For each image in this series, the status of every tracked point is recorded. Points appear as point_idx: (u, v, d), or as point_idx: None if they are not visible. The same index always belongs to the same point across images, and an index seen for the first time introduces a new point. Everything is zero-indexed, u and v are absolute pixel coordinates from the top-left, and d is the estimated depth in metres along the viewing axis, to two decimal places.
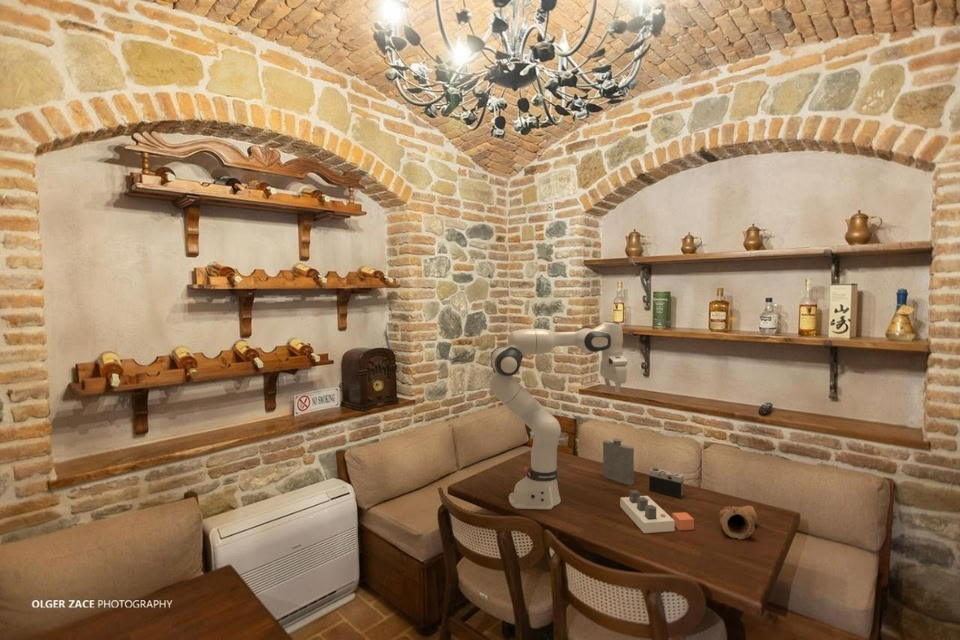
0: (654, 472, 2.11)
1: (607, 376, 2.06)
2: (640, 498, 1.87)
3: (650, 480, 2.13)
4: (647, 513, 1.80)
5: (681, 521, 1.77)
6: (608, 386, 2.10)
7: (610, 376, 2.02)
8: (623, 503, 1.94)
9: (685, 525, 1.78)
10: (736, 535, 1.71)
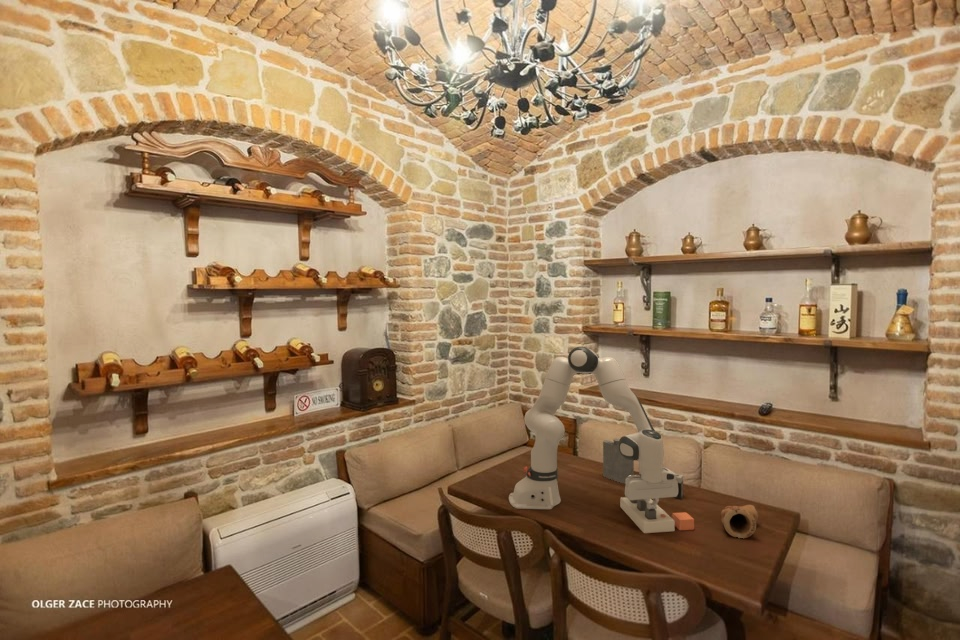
0: None
1: (651, 496, 1.78)
2: None
3: None
4: (647, 516, 1.80)
5: (681, 521, 1.77)
6: None
7: (660, 493, 1.78)
8: (623, 503, 1.94)
9: (685, 525, 1.78)
10: (738, 534, 1.71)
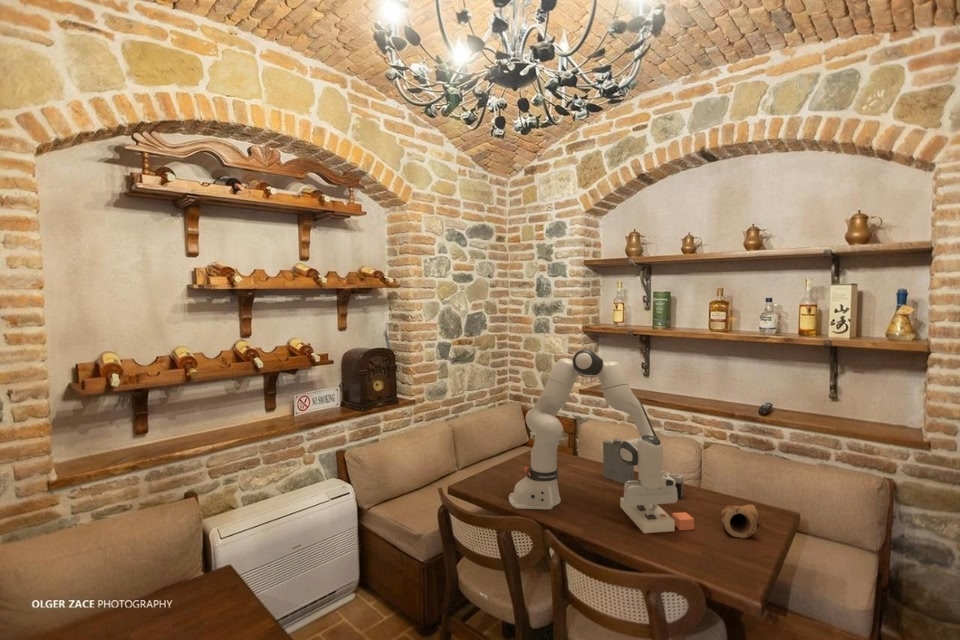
0: None
1: (650, 501, 1.78)
2: None
3: None
4: None
5: (681, 521, 1.77)
6: None
7: (659, 499, 1.78)
8: (623, 503, 1.94)
9: (685, 525, 1.78)
10: (738, 534, 1.71)
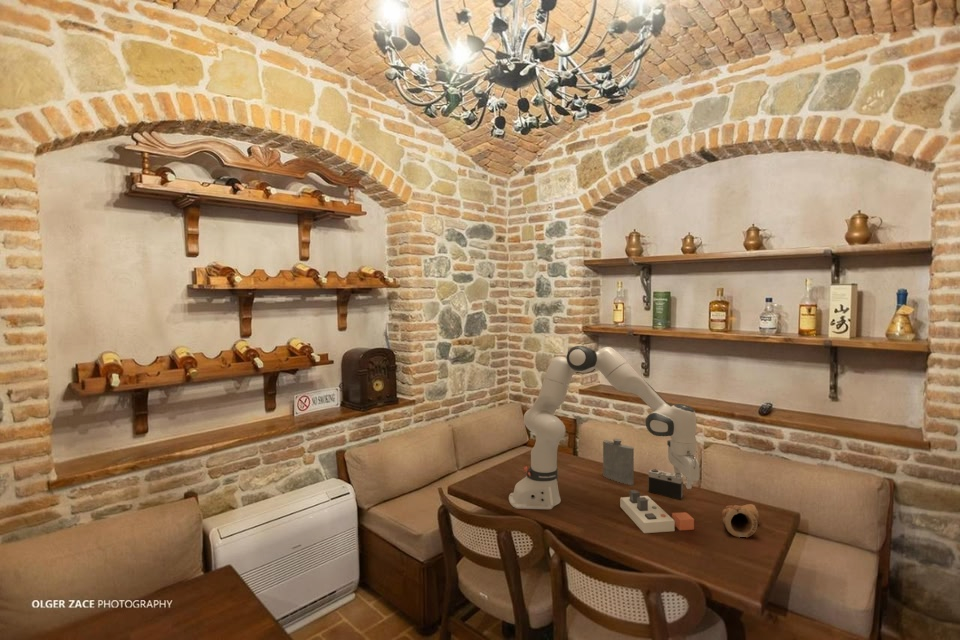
0: (654, 473, 2.10)
1: None
2: (640, 498, 1.87)
3: (650, 481, 2.11)
4: None
5: (681, 521, 1.77)
6: None
7: None
8: (623, 503, 1.94)
9: (685, 525, 1.78)
10: (739, 534, 1.72)
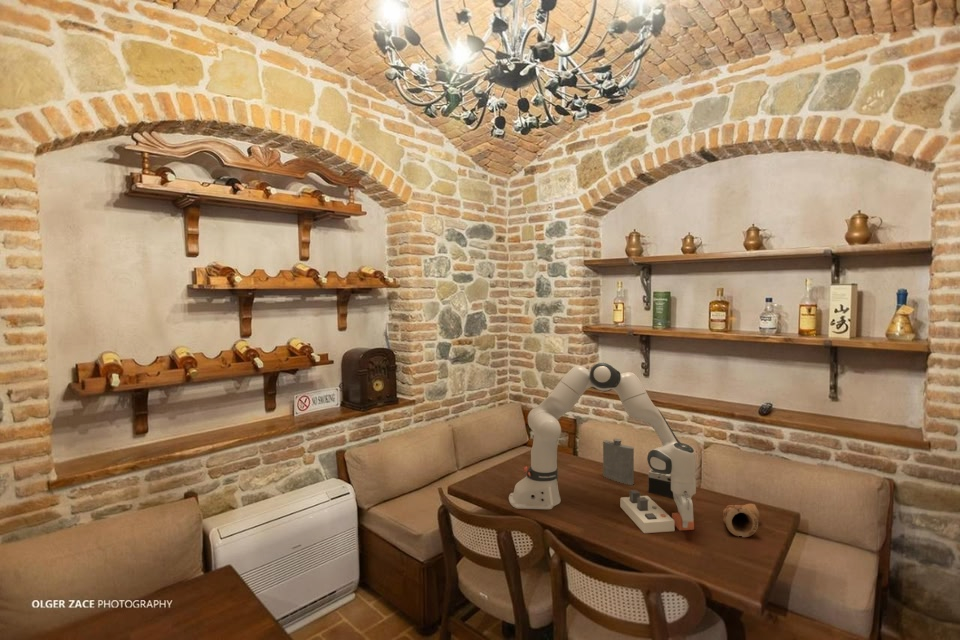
0: (654, 474, 2.10)
1: None
2: (640, 498, 1.87)
3: (649, 482, 2.11)
4: None
5: (681, 521, 1.77)
6: None
7: None
8: (623, 503, 1.94)
9: None
10: (740, 533, 1.72)
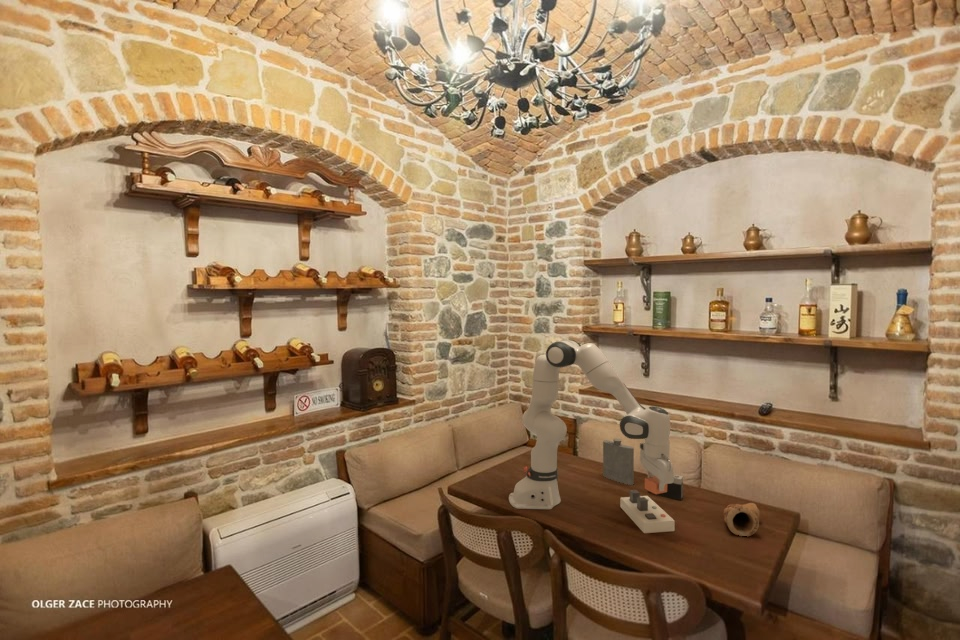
0: None
1: None
2: (640, 498, 1.87)
3: None
4: None
5: (657, 484, 1.76)
6: None
7: None
8: (623, 503, 1.94)
9: None
10: (741, 533, 1.72)
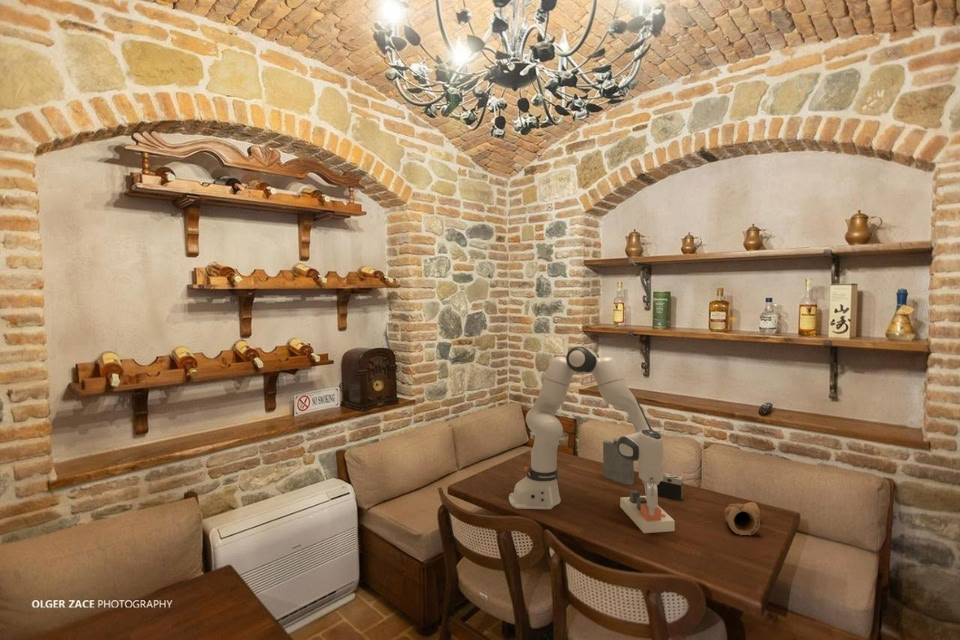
0: None
1: None
2: (640, 498, 1.87)
3: None
4: None
5: (648, 511, 1.77)
6: None
7: None
8: (623, 503, 1.94)
9: (652, 515, 1.77)
10: (742, 532, 1.73)
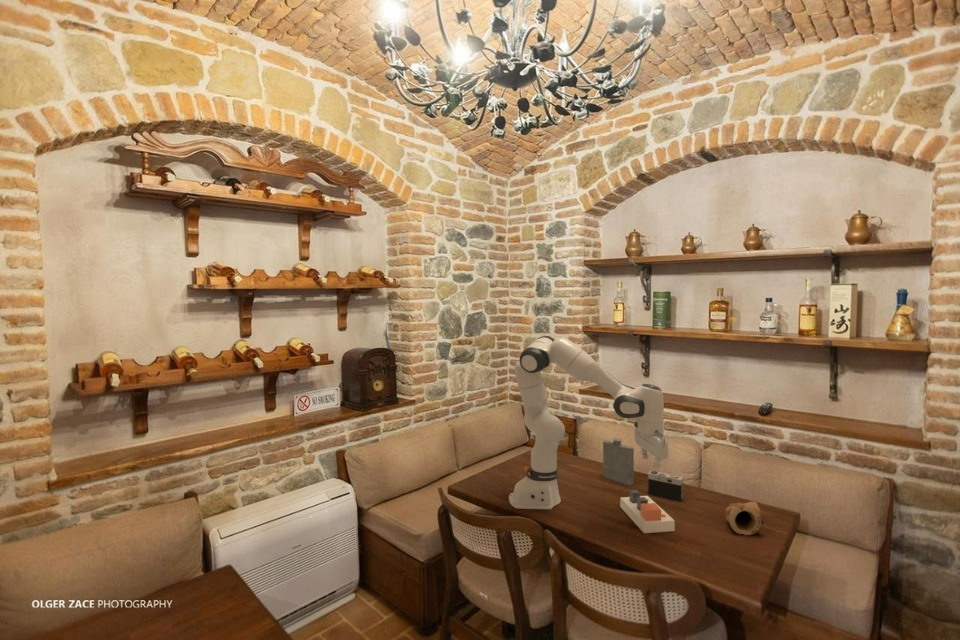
0: (653, 475, 2.08)
1: None
2: (640, 498, 1.87)
3: (649, 483, 2.09)
4: None
5: (648, 511, 1.77)
6: None
7: None
8: (623, 503, 1.94)
9: (652, 515, 1.77)
10: (743, 531, 1.73)
